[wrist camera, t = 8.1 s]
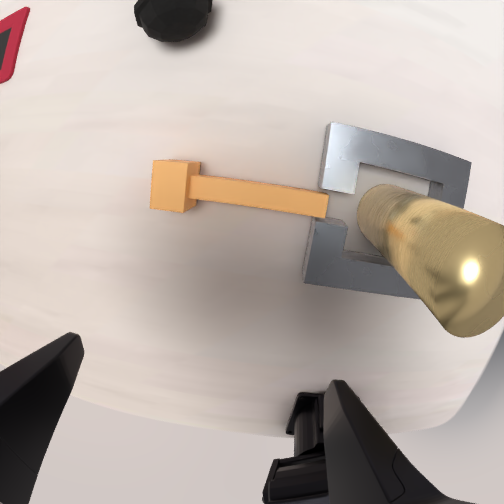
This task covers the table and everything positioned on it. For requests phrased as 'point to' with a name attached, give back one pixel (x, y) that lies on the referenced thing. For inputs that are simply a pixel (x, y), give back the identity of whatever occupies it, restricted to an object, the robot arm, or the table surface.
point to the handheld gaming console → (11, 41)
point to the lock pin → (226, 191)
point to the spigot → (439, 255)
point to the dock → (344, 180)
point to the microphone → (172, 18)
